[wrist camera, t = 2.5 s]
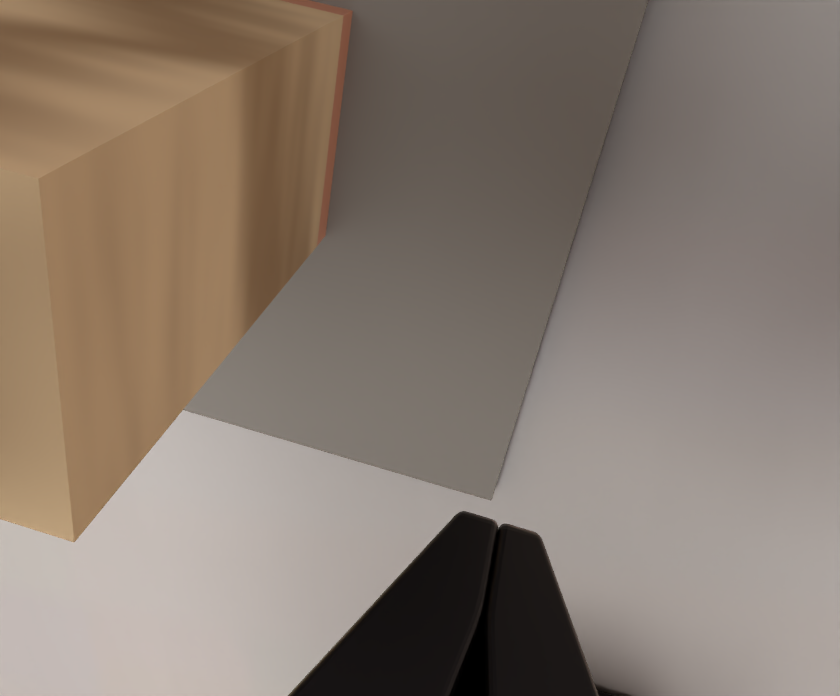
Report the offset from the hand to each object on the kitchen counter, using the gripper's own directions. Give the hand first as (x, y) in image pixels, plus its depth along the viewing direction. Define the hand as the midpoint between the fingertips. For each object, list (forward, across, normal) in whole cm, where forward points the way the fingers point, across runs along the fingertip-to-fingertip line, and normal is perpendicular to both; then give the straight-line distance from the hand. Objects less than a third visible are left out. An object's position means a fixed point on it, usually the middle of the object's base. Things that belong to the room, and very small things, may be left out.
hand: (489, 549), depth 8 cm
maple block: (+10, +8, 0) cm, 13 cm away
